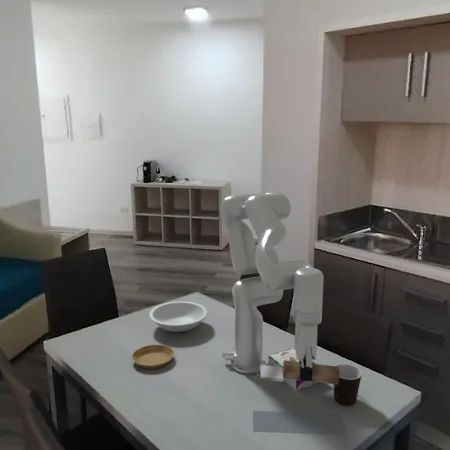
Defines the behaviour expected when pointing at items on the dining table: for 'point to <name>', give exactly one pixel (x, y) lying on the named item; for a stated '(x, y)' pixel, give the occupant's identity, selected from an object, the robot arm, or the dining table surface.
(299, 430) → the mat
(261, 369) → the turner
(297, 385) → the candy bar box
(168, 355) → the plant saucer
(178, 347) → the dining table surface
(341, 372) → the coffee mug
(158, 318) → the soup bowl
